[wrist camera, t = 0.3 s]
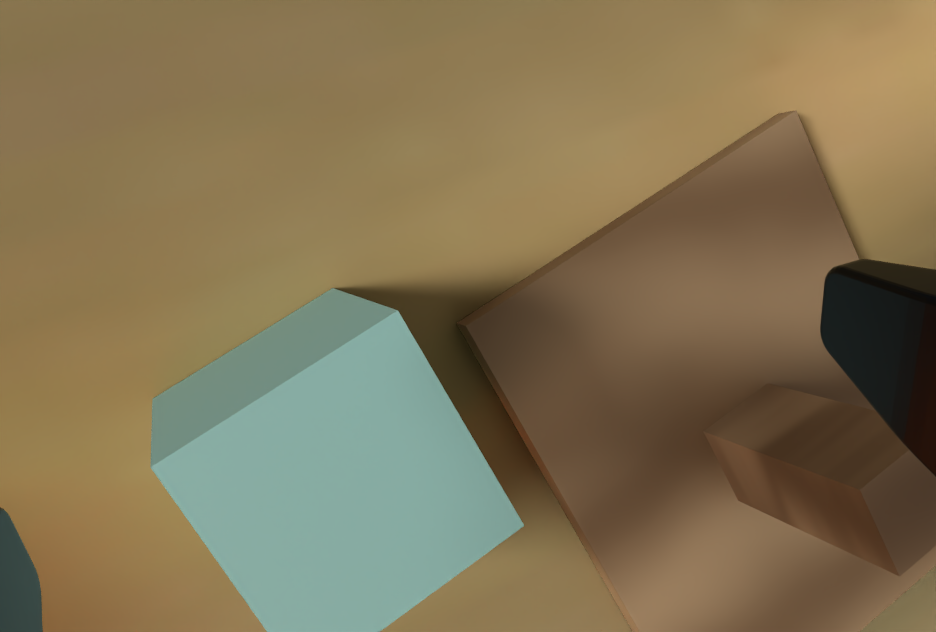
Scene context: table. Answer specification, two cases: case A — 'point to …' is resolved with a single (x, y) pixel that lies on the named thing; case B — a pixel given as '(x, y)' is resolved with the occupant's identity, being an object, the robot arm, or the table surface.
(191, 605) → the table surface
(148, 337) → the table surface
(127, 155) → the table surface
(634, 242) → the wooden base plate
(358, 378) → the pale teal block
